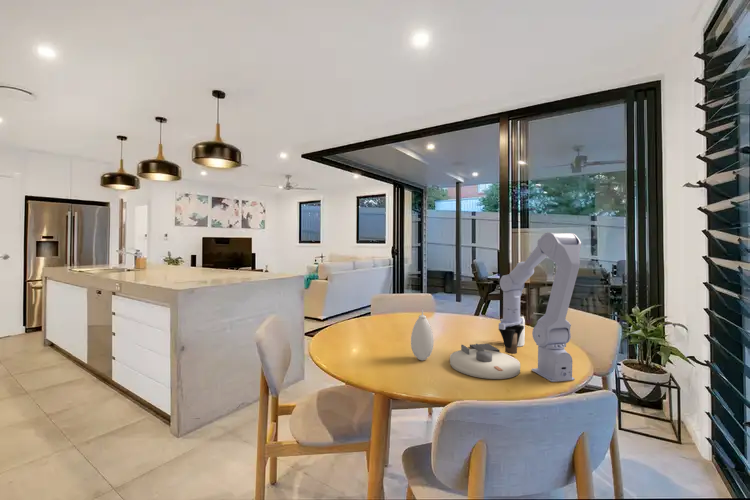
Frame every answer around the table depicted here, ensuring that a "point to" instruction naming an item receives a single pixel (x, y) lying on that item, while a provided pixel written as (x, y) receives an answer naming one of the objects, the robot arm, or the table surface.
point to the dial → (484, 363)
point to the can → (522, 333)
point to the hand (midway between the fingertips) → (511, 346)
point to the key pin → (514, 345)
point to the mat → (485, 347)
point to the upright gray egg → (422, 338)
